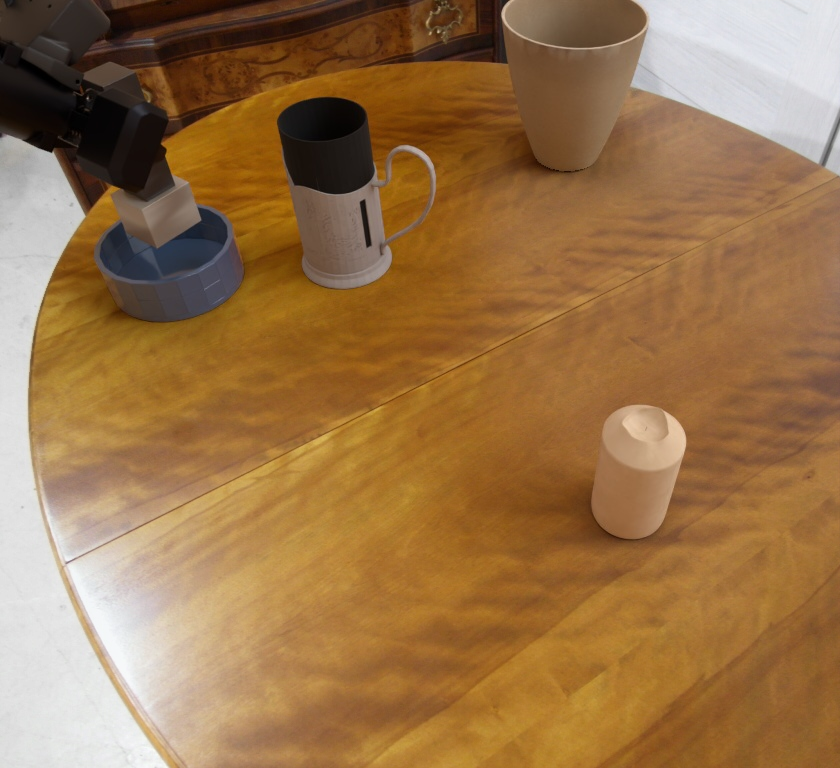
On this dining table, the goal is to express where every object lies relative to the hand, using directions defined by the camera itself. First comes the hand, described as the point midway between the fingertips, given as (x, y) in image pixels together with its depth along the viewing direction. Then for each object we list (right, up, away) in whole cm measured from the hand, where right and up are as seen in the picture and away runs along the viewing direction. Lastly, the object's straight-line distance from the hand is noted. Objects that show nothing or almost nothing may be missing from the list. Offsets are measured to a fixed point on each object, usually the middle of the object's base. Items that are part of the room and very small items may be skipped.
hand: (150, 148), depth 64 cm
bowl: (-2, -10, +10) cm, 14 cm away
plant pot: (+36, +7, +26) cm, 45 cm away
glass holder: (+16, -8, +12) cm, 22 cm away
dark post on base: (-1, -6, +4) cm, 7 cm away
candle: (+39, -29, -7) cm, 49 cm away
